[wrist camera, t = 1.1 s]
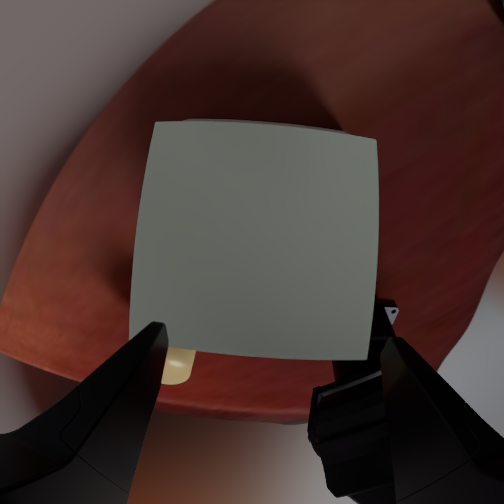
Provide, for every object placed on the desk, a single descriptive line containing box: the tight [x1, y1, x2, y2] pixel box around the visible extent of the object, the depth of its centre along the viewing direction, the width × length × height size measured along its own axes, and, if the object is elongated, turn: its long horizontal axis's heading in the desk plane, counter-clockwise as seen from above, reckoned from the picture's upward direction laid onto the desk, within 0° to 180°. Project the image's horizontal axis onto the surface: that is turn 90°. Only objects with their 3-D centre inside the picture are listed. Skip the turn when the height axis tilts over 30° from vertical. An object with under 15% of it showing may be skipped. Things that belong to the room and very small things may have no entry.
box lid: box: [129, 121, 379, 360], centre depth 13 cm, size 10×11×1 cm
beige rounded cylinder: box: [161, 347, 196, 384], centre depth 24 cm, size 6×6×6 cm
